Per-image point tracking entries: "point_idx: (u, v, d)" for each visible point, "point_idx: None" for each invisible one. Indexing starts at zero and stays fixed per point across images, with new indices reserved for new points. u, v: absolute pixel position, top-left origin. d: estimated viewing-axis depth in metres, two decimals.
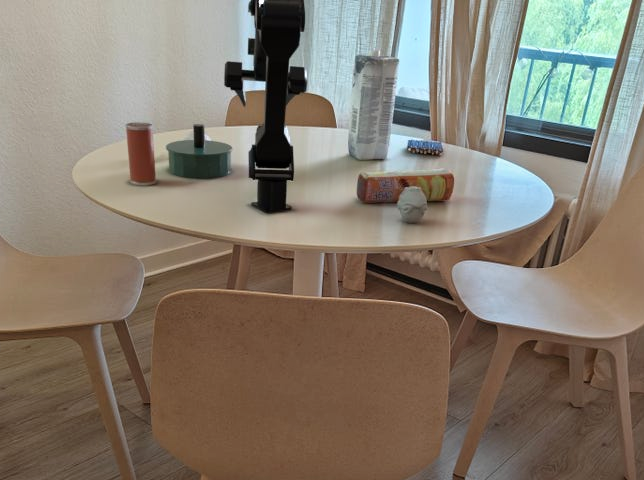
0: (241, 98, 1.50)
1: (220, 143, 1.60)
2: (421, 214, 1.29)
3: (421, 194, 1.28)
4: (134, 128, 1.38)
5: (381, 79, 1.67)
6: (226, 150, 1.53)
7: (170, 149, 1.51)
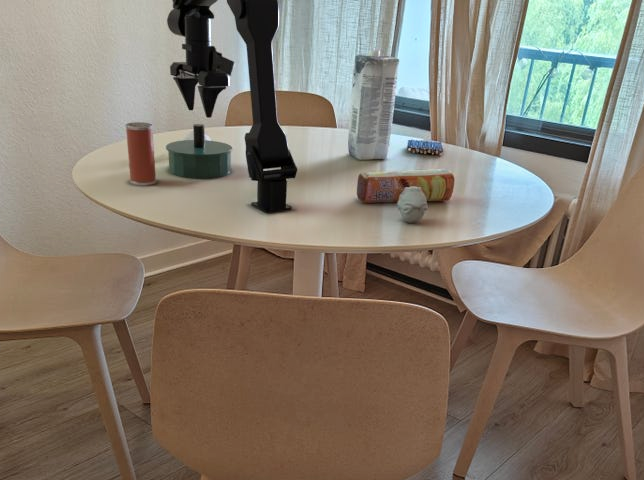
0: (182, 94, 1.53)
1: (220, 143, 1.60)
2: (421, 214, 1.29)
3: (421, 194, 1.28)
4: (134, 128, 1.38)
5: (381, 79, 1.67)
6: (226, 150, 1.53)
7: (170, 149, 1.51)
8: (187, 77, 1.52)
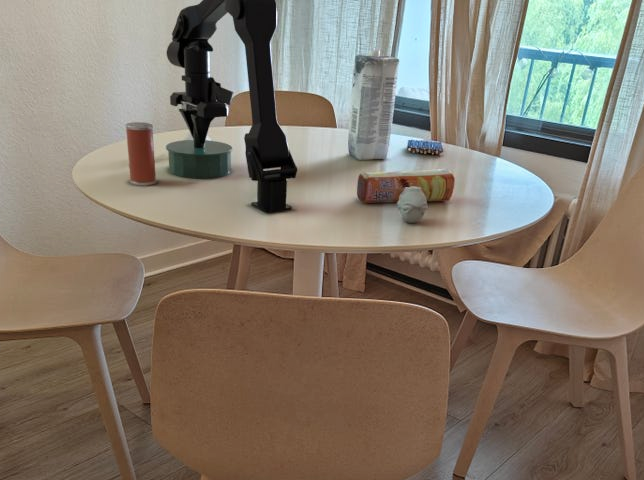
0: None
1: (220, 143, 1.60)
2: (421, 214, 1.29)
3: (421, 194, 1.28)
4: (134, 128, 1.38)
5: (381, 79, 1.67)
6: (226, 150, 1.53)
7: (170, 149, 1.51)
8: (192, 109, 1.53)
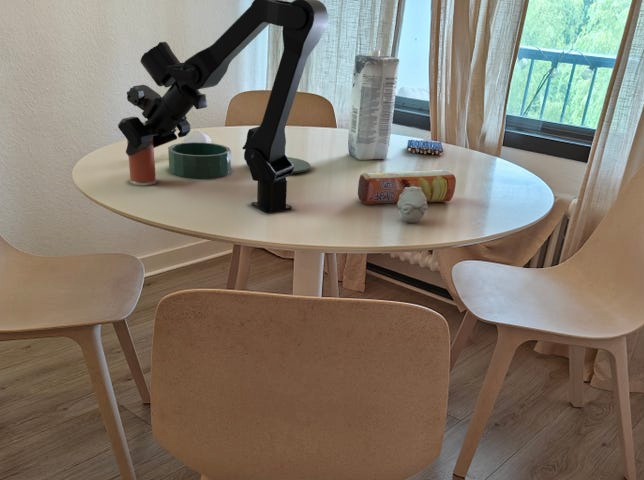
0: (138, 151, 1.39)
1: (297, 159, 1.69)
2: (421, 214, 1.29)
3: (421, 194, 1.28)
4: None
5: (381, 79, 1.67)
6: (306, 167, 1.62)
7: None
8: None
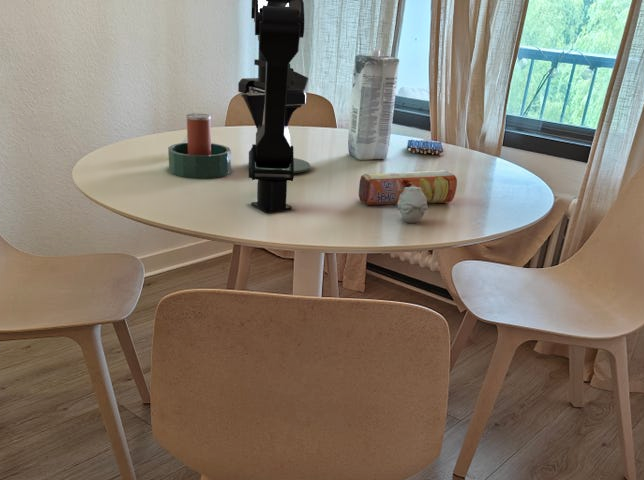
0: (250, 112, 1.44)
1: (297, 159, 1.69)
2: (421, 214, 1.29)
3: (421, 194, 1.28)
4: (189, 117, 1.50)
5: (381, 79, 1.67)
6: (306, 167, 1.62)
7: None
8: (256, 94, 1.43)
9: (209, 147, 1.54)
